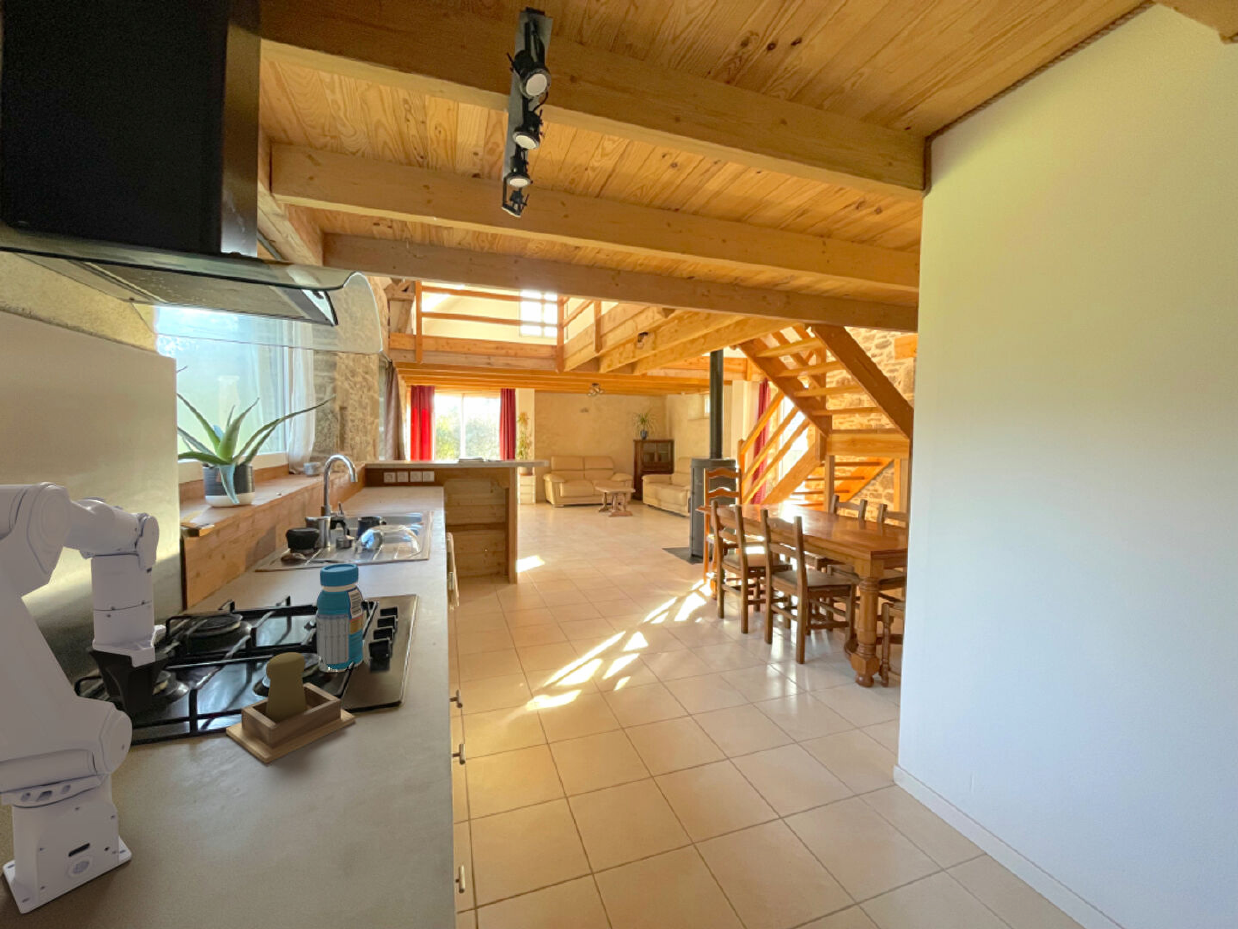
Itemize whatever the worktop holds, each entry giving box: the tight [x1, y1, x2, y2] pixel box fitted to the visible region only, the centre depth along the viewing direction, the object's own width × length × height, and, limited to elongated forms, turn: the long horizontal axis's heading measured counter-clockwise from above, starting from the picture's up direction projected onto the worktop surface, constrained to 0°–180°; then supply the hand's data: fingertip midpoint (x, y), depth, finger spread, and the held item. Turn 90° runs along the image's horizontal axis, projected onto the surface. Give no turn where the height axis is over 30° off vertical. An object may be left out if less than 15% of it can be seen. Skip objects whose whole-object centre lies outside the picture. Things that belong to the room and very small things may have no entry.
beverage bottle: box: [315, 562, 365, 673], centre depth 102 cm, size 8×8×20 cm
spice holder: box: [225, 682, 356, 764], centre depth 81 cm, size 13×13×4 cm
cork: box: [265, 651, 308, 724], centre depth 80 cm, size 6×6×11 cm
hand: (128, 701), depth 68 cm, fingers open, 7 cm apart
